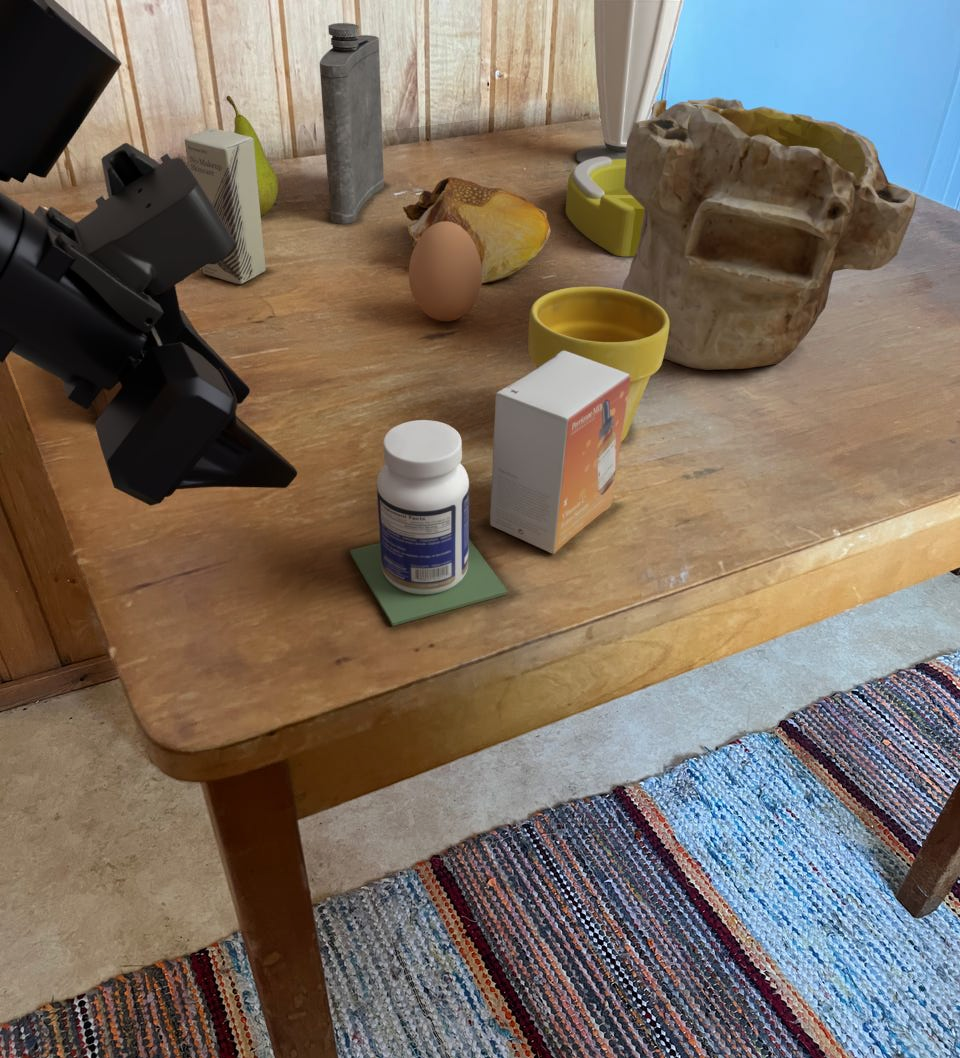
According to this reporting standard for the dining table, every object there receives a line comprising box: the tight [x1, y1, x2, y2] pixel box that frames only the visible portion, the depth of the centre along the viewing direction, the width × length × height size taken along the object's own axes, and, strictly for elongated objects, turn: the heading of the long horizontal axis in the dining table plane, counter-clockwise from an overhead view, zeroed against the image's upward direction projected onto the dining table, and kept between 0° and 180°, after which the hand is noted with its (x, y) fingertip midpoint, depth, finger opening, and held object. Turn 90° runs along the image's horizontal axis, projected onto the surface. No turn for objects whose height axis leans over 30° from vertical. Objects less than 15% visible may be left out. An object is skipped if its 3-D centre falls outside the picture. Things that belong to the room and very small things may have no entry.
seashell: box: [402, 176, 551, 284], centre depth 104 cm, size 17×8×15 cm
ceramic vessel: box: [621, 96, 917, 371], centre depth 84 cm, size 23×24×25 cm
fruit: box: [226, 95, 279, 217], centre depth 107 cm, size 6×6×12 cm
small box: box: [489, 351, 631, 555], centre depth 67 cm, size 8×6×10 cm
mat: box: [349, 538, 508, 627], centre depth 65 cm, size 8×8×1 cm
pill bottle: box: [376, 419, 470, 594], centre depth 61 cm, size 6×6×10 cm
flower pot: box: [527, 286, 670, 443], centre depth 76 cm, size 10×10×10 cm
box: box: [184, 127, 267, 285], centre depth 95 cm, size 5×4×13 cm
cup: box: [576, 0, 685, 164], centre depth 122 cm, size 12×12×22 cm
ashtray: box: [565, 157, 644, 257], centre depth 112 cm, size 16×21×5 cm
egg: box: [408, 221, 483, 322], centre depth 90 cm, size 7×7×9 cm
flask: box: [319, 22, 385, 225], centre depth 109 cm, size 4×14×18 cm, turn 168°
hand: (267, 435), depth 54 cm, fingers open, 9 cm apart
